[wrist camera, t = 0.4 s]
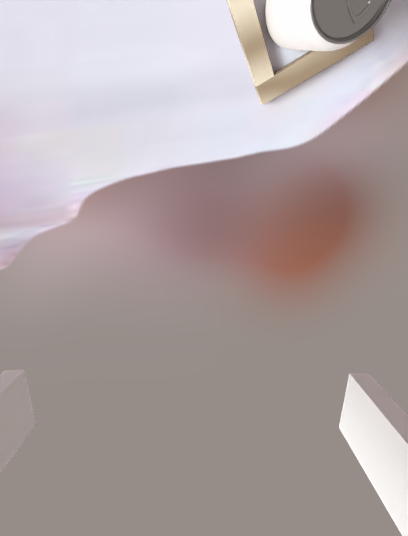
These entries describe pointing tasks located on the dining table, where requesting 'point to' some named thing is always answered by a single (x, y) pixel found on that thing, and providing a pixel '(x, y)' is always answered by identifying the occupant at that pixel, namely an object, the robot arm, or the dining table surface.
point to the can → (321, 22)
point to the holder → (259, 61)
